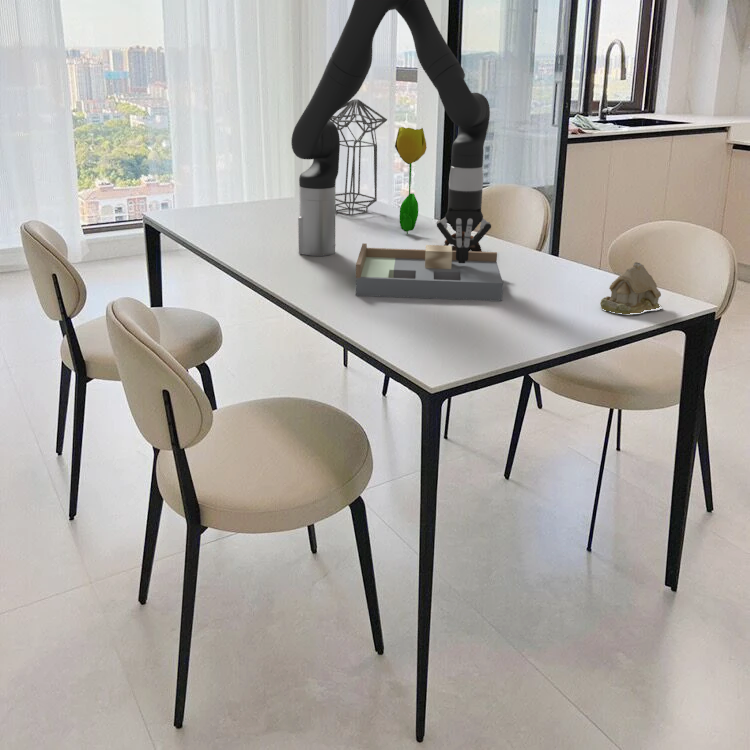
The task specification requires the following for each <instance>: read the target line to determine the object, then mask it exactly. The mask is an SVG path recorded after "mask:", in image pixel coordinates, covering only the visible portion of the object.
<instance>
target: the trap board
mask: <svg viewBox="0 0 750 750" xmlns="http://www.w3.org/2000/svg"><path fill="white" fill-rule="evenodd" d="M367 244H368V243H362V245H361V247H360V251H359V254H358V257H357V260H356V262H355V296H358V297H359V296H361V297H388V298H410V299H411V298H414V299H439V300H465V301H466V300H467V301H469V300H470V301H489V302H501V301H503V290H504V289H503V288H504V282H503V277H502V275H501V272H500V268H499V265H498V261H497V260H498V259H497V258H498V252H496V251H482V252H475V251H471V250H470V251H469V253H468V260H467V261H465V263H459V262H458V261H457V260H456V251H452V264H451V269H435V268H425V252H426V249H416V248H415V249H412V248H387V247H384V248H383V247H382V248H381V247H368V246H367Z"/></svg>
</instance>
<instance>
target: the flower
mask: <svg viewBox="0 0 750 750" xmlns="http://www.w3.org/2000/svg"><path fill="white" fill-rule="evenodd" d="M423 128H424V127H421V128H419V129H418V128H416V129H415V128H413V127H403V126H400V127H398V131H397V134H396V140H395V144H394V148H395V150H396V151H397V154H398V155H399V158H400V159H402V161H403V162H404V163H406V164H407V165H409V170H408V175H409V177H408V178H409V180H408V195H407V196H406V198H404V200H403V201H402V202H401V205H400V208H399V226H400V229H401V230H402V231H404V232H406V235H409V232H410V231H414V229H415V227H416V224H417V221H418V216H419V202H418V200H417V197H416V196H415V193H414V192H413V193H412V192H411V184H412V183H411V182H412V164H414V163H415V162H417V161H419V160H420V159H421V158H422V157H423V156H424V155H425V154H426V151H427V140H426V138H425V132H424V129H423Z"/></svg>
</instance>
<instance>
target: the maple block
mask: <svg viewBox="0 0 750 750" xmlns="http://www.w3.org/2000/svg"><path fill="white" fill-rule="evenodd" d="M452 246H453V245H448V246H444V245H442V244H441V245H437V244H436V245H435V244H425V250H426V252H425V268H435V269H451V264H452Z"/></svg>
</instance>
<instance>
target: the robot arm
mask: <svg viewBox="0 0 750 750" xmlns="http://www.w3.org/2000/svg"><path fill="white" fill-rule="evenodd" d="M394 10H396V12H397V13H398V14H399V15H400V16H401V18H402V19H403V20H404V22H405V23H406V25H407V26H408V28H409V30H410V33H411V36H412V39H413V40H412V41H413V44H414V49H415V53H416V57H417V60H418V62H419V64H420V66H421V67H422V69H423V71H424V73H425V74H426V76H427V77H428V79H429V80H430V82H431V83H432V85H433V87H434V88H435V89H436V90H437V92H438V96H439V99H440V101H441V103H442V106H443V108H444V110H445V113H446V114H447V116H448V118H449V119H450V120H451V122H452V123H454V125H456V126H457V127H458V129H457V130H458V132H457V137H456V138H455V140H454V141H453V142H452V146H451V158H450V159H451V161H450V162H451V163H450V171H449V177H448V178H449V180H448V198H447V199H448V201H447V202H448V203H447V211H446V213H445V215H444V217H443V218H442V219H440V220H437V221H436V227H437V229H438V230H439V231H440V233H441V234H442V236H443V237H444V239H445V240H447V241H448V242H449V245H450V246H454V245H455V246H456V260H457V261H458V262H459V263H465V261H467V260H468V253H469V247H470V246H472V245H476V244H477V243H478V242H479V243H480V241H481V240H482V239H483V238H484V236H485V235H486V234H488V232H489V231H490V230H491V228H492V224H491V223H490V221H487V220H486V219H485V218H484V214H483V211H482V203H483V188H484V187H483V186H484V169H483V168H484V166H483V164H484V148H485V147H484V145H485V141H486V137H487V134H488V133H487V132H488V129H489V124H490V117H491V116H490V115H491V114H490V113H491V109H490V103H489V101H488V99H487V97H486V96H485V95H483V94H482V93H480V92H472V91H471V89H470V88H469V86H468V85H467V83H466V80H465V78H466V77H465V76H466V75H465V71H464V68H463V67H462V65H461V63H460V62H459V60H458V59H457V57H456V56H455V54H454V53H453V51H452V50H451V48H450V47H449V45H448V43H447V42H446V40H445V39H444V37H443V34H441V31H440V30H439V28H438V25H437V23H436V22H435V19H434V18H433V15H432V12H431V11H430V8H429V7H428V4H427V3H426V0H354V1H353V4H352V7H351V10H350V12H349V15H348V18H347V21H346V22H345V25H344V27H343V29H342V31H341V35H340V36H339V38H338V41H337V43H336V45H335V47H334V49H333V51H332V53H331V55H330V58H329V60H328V62H327V65H326V66H325V69H324V72H323V74H322V76H321V79H320V80H319V82H318V85H317V87H316V88H315V90H314V93H313V95H312V97H311V99H310V101H309V102H308V104H307V105H306V107H305V109H304V110H303V112H302V114H301V115H300V116H299V119H298V121H297V122H296V124H295V126H294V128H293V131H292V135H291V149H292V152H293V154H294V155H295V156H296V157H297V158H299V159H301V160H313V161H312V163H311V165H310V166H309V167H308V169H306V170H305V171H303V172H302V173H301V174H300V175H299V179H298V182H299V183H298V185H299V186H298V187H299V190H298V192H299V197H298V198H299V217H298V218H297V219H298V221H297V223H298V224H297V225H298V229H297V230H298V231H297V232H298V254H299V255H305V256H312V257H323V256H324V257H325V256H331V255H333V254H334V255H335V253H336V212H335V204H336V200H335V198H336V196H335V195H336V194H337V193H336V184H337V183H336V182H337V178H338V175H339V168H340V167H339V164H340V151H341V150H340V148H341V147H340V146H341V145H340V144H341V142H340V141H341V139H340V133H339V132H340V131H339V130H338V129H337V124H335V123H333V122H332V121H331V120H330V118H331V117H332V116H335V114H336V113H338V111H339V109H340V110H342V109H343V108H342V107H343V106H344V105H345V104H346V103H347V102H349V101H351V100H353V99H354V97H355V96H356V94H358V92H359V91H360V90H361V88H362V86H363V85H364V82H365V80H366V78H367V76H368V73H369V71H370V69H371V67H372V62H373V42H374V37H375V34H376V32H377V30H378V28H379V26H380V24H381V22H382V20H383V19H384V17H385V16H386V14H387V13H388V12H389V11H394ZM341 108H342V109H341ZM329 120H330V121H329ZM448 224H449V226H450V227H451V229H452V230H453V231H454V232H455V233H456V239H454V238H453V237H452V236H451V235H452V234H451V233H450V231H449V230H448V229H447V228H448ZM478 226H479V227H480V228H479V230H477V232H476V233H475V235H474V236H473V238H472V239H470V237H471V236H472V232H473V231H475V230H476V229H477V227H478ZM462 232H465V235H464V243H463V246H462Z"/></svg>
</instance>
